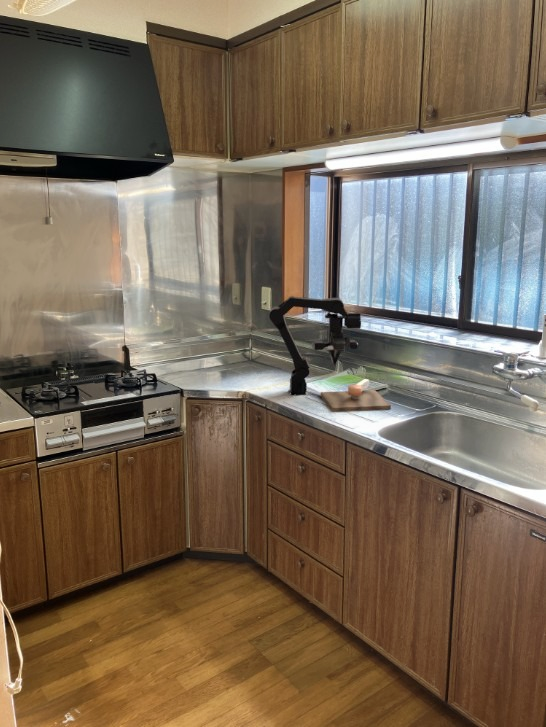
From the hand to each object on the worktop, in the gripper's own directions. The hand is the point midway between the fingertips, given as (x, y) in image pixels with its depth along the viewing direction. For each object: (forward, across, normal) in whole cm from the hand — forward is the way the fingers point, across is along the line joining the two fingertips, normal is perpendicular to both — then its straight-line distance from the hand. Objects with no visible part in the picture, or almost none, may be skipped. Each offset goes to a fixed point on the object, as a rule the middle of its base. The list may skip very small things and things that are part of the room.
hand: (334, 364), depth 254 cm
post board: (+13, +6, -12) cm, 19 cm away
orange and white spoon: (+9, +9, -8) cm, 15 cm away
